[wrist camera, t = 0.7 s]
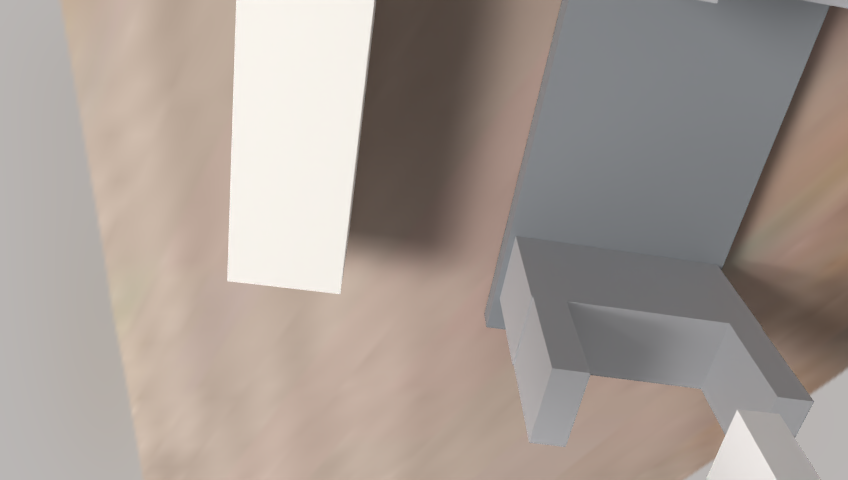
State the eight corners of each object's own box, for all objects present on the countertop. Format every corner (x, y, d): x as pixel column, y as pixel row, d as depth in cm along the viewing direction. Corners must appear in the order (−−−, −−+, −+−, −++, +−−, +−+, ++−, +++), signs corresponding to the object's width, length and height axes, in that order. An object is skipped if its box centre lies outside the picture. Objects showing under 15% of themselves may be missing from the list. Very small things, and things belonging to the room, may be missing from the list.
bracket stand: (613, -208, 24) (723, -232, 15) (877, -155, 25) (1118, -150, 16) (484, 313, 33) (509, 475, 25) (679, 339, 34) (768, 504, 26)
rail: (278, -314, 23) (247, -349, 18) (410, -289, 23) (411, -318, 19) (252, 217, 31) (227, 280, 27) (349, 229, 31) (340, 293, 27)
